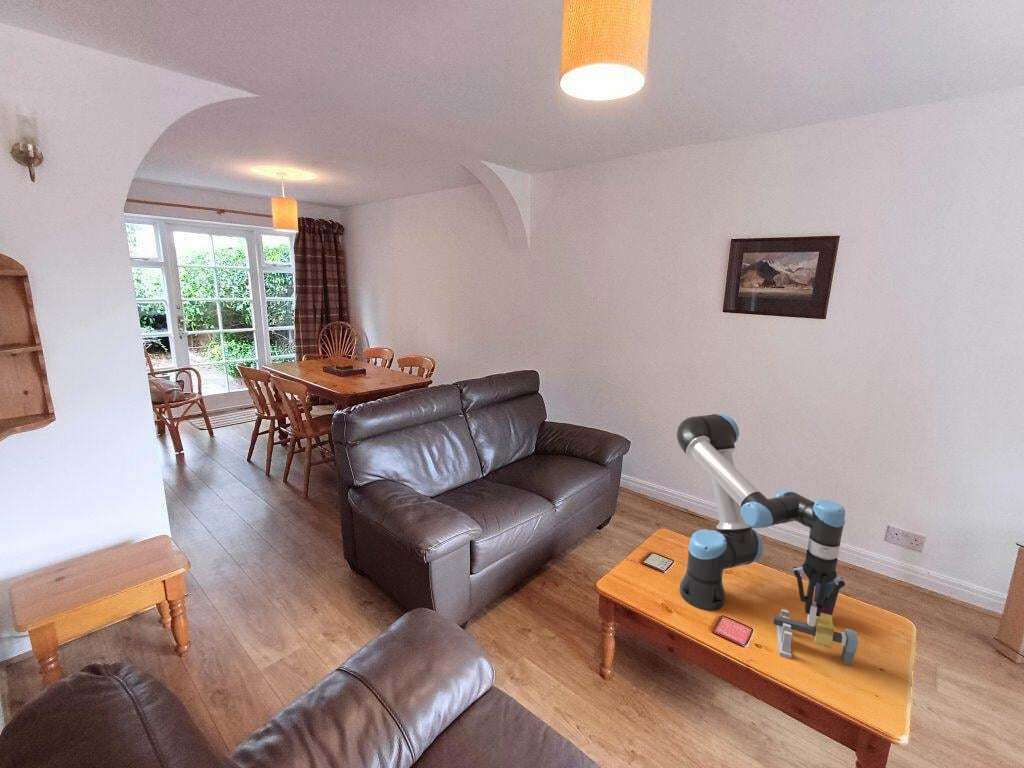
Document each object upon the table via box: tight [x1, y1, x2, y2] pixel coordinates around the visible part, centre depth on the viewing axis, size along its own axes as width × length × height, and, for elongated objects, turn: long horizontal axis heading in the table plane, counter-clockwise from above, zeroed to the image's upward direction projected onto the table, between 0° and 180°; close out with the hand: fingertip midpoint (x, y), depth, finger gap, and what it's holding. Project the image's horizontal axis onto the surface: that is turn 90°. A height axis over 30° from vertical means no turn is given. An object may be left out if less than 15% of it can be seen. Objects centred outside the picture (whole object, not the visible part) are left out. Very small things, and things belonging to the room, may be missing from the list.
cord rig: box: [772, 608, 859, 666], centre depth 139 cm, size 21×13×9 cm, turn 64°
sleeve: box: [812, 612, 835, 649], centre depth 137 cm, size 4×5×9 cm
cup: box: [813, 580, 840, 616], centre depth 152 cm, size 7×7×15 cm
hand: (810, 623), depth 138 cm, fingers closed
